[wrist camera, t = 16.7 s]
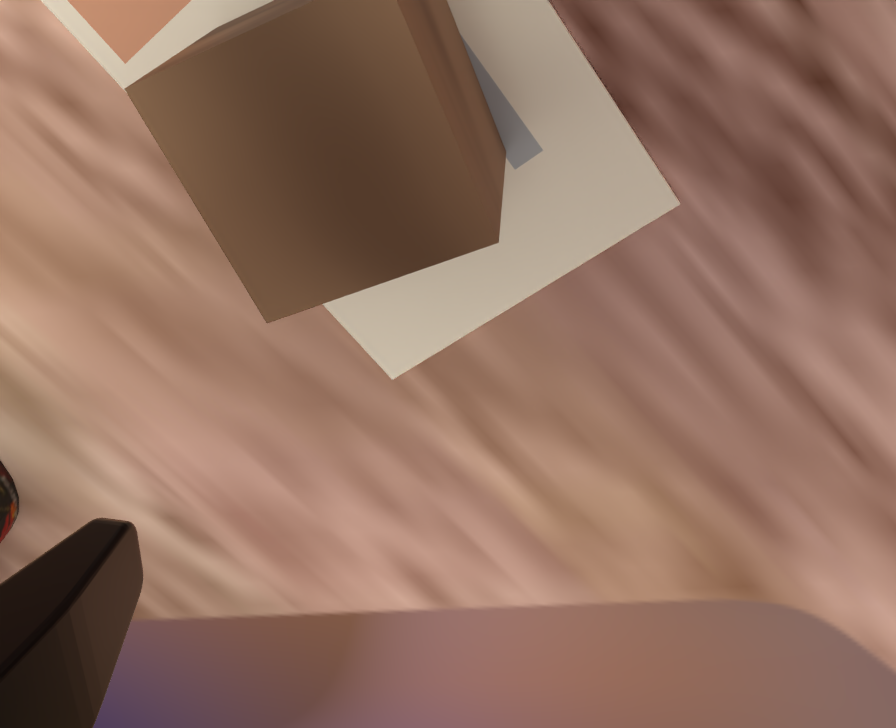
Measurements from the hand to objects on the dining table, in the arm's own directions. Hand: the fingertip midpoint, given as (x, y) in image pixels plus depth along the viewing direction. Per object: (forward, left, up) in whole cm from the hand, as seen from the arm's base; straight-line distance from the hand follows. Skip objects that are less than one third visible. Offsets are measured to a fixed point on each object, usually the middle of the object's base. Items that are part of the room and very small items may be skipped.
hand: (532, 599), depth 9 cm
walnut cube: (+4, +2, -13) cm, 14 cm away
